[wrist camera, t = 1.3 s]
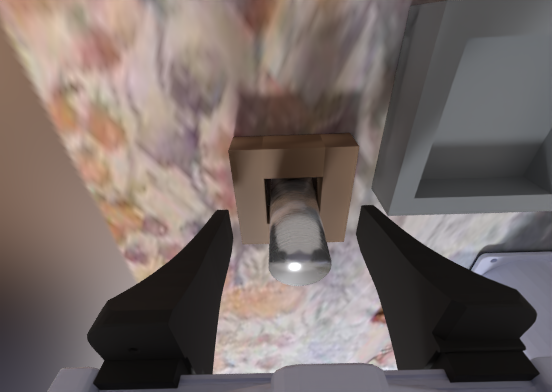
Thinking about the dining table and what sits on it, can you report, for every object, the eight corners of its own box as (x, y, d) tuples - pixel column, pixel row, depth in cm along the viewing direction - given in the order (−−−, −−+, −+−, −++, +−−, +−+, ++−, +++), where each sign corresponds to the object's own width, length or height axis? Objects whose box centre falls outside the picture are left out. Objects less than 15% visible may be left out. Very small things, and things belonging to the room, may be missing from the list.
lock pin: (313, 165, 16) (334, 242, 10) (311, 200, 18) (328, 285, 12) (269, 166, 16) (266, 244, 10) (271, 202, 18) (270, 286, 12)
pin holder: (349, 133, 15) (359, 146, 13) (337, 222, 19) (343, 241, 17) (233, 137, 15) (228, 150, 13) (245, 225, 19) (242, 244, 17)
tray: (631, -4, 11) (730, -12, 9) (519, 183, 17) (561, 210, 15) (410, 5, 12) (447, 0, 9) (371, 188, 17) (387, 215, 15)
